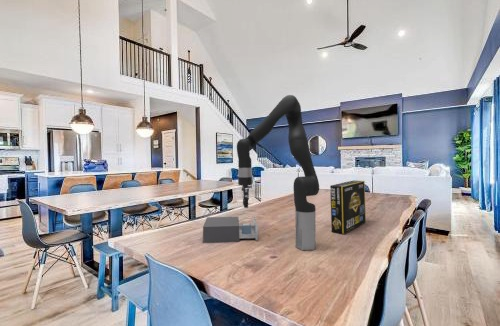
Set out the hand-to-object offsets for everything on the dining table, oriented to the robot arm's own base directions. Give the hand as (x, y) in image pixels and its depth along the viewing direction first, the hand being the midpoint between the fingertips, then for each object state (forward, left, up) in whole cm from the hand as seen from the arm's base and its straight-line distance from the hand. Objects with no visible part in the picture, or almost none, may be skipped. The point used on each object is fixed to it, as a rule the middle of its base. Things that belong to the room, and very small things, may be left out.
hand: (245, 206), depth 138 cm
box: (+11, -62, -16) cm, 65 cm away
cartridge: (+1, 0, -14) cm, 14 cm away
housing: (+1, +13, -16) cm, 21 cm away
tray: (+1, +3, -16) cm, 16 cm away
